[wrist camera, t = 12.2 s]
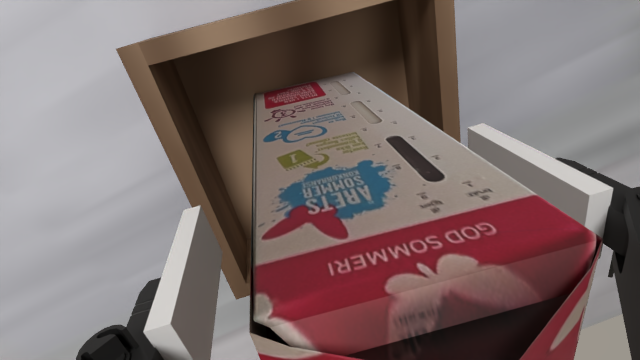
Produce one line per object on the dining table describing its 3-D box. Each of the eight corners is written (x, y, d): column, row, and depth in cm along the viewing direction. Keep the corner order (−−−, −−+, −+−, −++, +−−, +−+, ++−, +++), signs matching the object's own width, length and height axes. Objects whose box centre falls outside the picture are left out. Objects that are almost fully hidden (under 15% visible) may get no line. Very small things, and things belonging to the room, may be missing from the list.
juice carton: (278, 183, 26) (350, 747, 6) (253, 93, 23) (244, 654, 3) (365, 162, 26) (693, 628, 7) (353, 71, 23) (902, 439, 3)
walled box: (403, -29, 22) (452, -41, 17) (425, 189, 29) (464, 229, 24) (150, 38, 21) (115, 48, 16) (238, 244, 28) (236, 299, 23)
